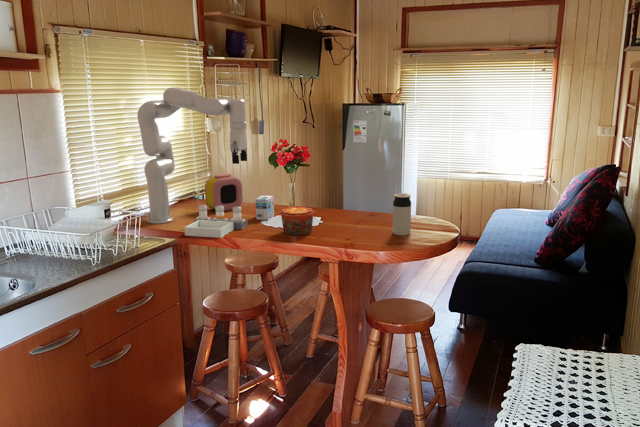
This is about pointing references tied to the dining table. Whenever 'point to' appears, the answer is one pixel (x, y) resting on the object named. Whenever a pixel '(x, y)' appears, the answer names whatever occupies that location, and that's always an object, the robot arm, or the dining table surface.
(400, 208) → the travel mug
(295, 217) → the food container
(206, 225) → the tray
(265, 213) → the light bulb box
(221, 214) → the marked fuse
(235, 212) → the right fuse
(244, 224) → the fuse block
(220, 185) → the alarm clock
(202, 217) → the left fuse
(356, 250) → the dining table surface
